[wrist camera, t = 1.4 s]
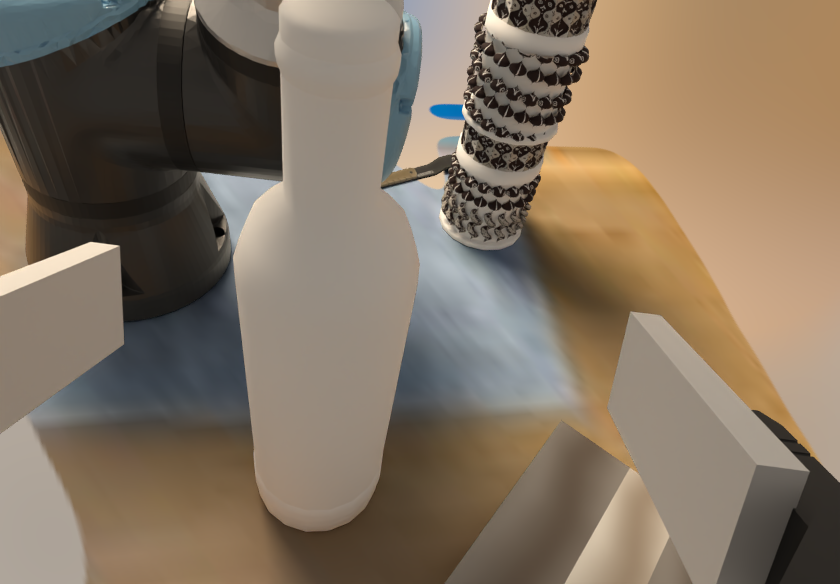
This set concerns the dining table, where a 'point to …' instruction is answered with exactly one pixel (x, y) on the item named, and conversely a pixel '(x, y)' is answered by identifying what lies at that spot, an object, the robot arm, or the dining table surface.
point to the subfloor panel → (574, 525)
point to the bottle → (326, 269)
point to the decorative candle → (511, 114)
